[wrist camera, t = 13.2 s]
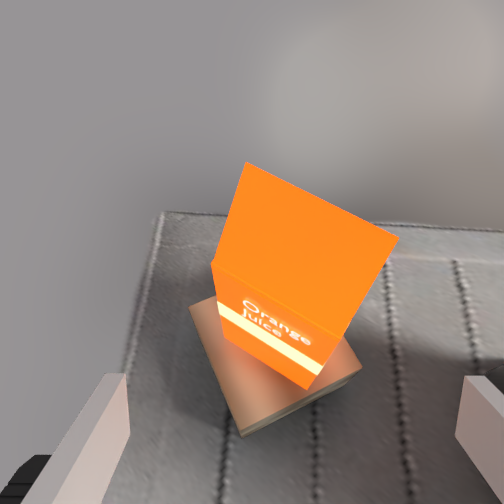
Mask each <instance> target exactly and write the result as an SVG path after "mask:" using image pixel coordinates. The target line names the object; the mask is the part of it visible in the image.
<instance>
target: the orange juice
mask: <svg viewBox="0 0 504 504" xmlns="http://www.w3.org/2000/svg"><path fill="white" fill-rule="evenodd" d="M398 239H399V237H397V236H394V235H392V234H390V233H388V232H386V231H384V230H382V229H380V228H378V227H376V226H374V225H372V224H370V223H368V222H366V221H364V220H362V219H360V218H358V217H356V216H354V215H352V214H350V213H348V212H346V211H344V210H342V209H340V208H338V207H336V206H334V205H332V204H330V203H328V202H326V201H324V200H322V199H320V198H318V197H316V196H314V195H311V194H310V193H308V192H306V191H304V190H302V189H300V188H297V187H295V186H293V185H291V184H289V183H287V182H285V181H283V180H281V179H279V178H277V177H275V176H273V175H271V174H269V173H267V172H265V171H263V170H261V169H259V168H257V167H255V166H253V165H251V164H249V163H247V162H246V163H245V166H244V169H243V172H242V175H241V178H240V181H239V184H238V187H237V190H236V193H235V197H234V200H233V203H232V206H231V209H230V212H229V215H228V218H227V221H226V224H225V227H224V230H223V233H222V236H221V239H220V242H219V245H218V248H217V251H216V254H215V257H214V260H213V261H212V262H211V267H212V273H213V278H214V283H215V289H216V294H217V300H218V301H217V304H218V309H219V314H220V316H221V322H222V327H223V333H224V337H225V338H227V339H228V340H230V341H231V342H233V343H234V344H236V345H237V346H239V347H241V348H242V349H244V350H245V351H247V352H248V353H250V354H251V355H253V356H255V357H256V358H258V359H259V360H261V361H262V362H264V363H265V364H267V365H268V366H270V367H272V368H273V369H275V370H276V371H278V372H279V373H281V374H282V375H284V376H286V377H287V378H289V379H290V380H292V381H293V382H295V383H296V384H298V385H299V386H301V387H303V388H304V389H306V390H307V389H308V388H309V386H310V385H311V383H312V382H313V380H314V379H315V377H316V376H317V375H318V374H319V372H320V371H321V369H322V368H323V366H324V364H325V363H326V361H327V359H328V358H329V356H330V355H331V353H332V352H333V350H334V349H335V347H336V346H337V344H338V343H339V341H340V340H341V338H342V336H343V334H344V332H345V330H346V329H347V327H348V325H349V323H350V321H351V319H352V318H353V316H354V314H355V313H356V311H357V309H358V307H359V306H360V304H361V302H362V301H363V299H364V297H365V295H366V294H367V292H368V290H369V289H370V287H371V285H372V283H373V282H374V280H375V278H376V277H377V275H378V273H379V272H380V270H381V268H382V266H383V265H384V263H385V261H386V260H387V258H388V256H389V254H390V253H391V251H392V249H393V248H394V246H395V244H396V243H397V241H398Z"/></svg>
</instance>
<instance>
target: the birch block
mask: <svg viewBox="0 0 504 504" xmlns="http://www.w3.org/2000/svg"><path fill="white" fill-rule="evenodd" d="M217 301H218V300H217V295H215V296H213V297H210V298H208V299H205V300H203V301H201V302H198V303H196V304H194V305H191V306H189V307H188V308H189V311H190V314H191V316H192V319H193V322H194V325H195V327H196V330H197V333H198V335H199V338H200V340H201V343H202V345H203V347H204V350H205V352H206V354H207V357H208V359H209V362H210V364H211V366H212V369H213V371H214V374H215V376H216V378H217V381H218V383H219V386H220V388H221V390H222V393H223V395H224V398H225V400H226V402H227V405H228V407H229V409H230V412H231V414H232V417H233V419H234V421H235V424H236V426H237V429H238V431H239V433H240V436H241V438H244V437H246V436H248V435H250V434H252V433H254V432H256V431H257V430H259V429H261V428H263V427H265V426H267V425H269V424H271V423H273V422H275V421H277V420H279V419H281V418H282V417H284V416H286V415H288V414H290V413H292V412H294V411H296V410H298V409H300V408H302V407H304V406H306V405H308V404H309V403H311V402H313V401H315V400H317V399H319V398H321V397H323V396H325V395H327V394H329V393H331V392H333V391H335V390H336V389H338V388H340V387H342V386H344V385H345V384H346V383H347V382H348V381H349V380H350V379H351V378H353V377H354V376H355V375H356V374H357V373H358V372H359V371H360V370H361V369H362V368H363V367H362V365H361V364H360V362H359V360H358V359H357V357H356V355H355V354H354V352H353V350H352V349H351V347H350V345H349V344H348V342H347V340H346V339H345V337H344V335H343V336H342V338H341V340H340V341H339V343H338V344H337V346H336V347H335V349H334V350H333V352H332V353H331V355H330V356H329V358H328V359H327V361H326V363H325V364H324V366H323V368H322V369H321V371H320V372H319V374H318V375H317V376H316V377H315V379H314V380H313V382H312V383H311V385H310V386H309V388H308V389H307V390H306V389H304V388H303V387H301V386H299V385H298V384H296V383H295V382H293V381H292V380H290V379H289V378H287V377H286V376H284V375H282V374H281V373H279V372H278V371H276V370H275V369H273V368H272V367H270V366H268V365H267V364H265V363H264V362H262V361H261V360H259V359H258V358H256V357H255V356H253V355H251V354H250V353H248V352H247V351H245V350H244V349H242V348H241V347H239V346H237V345H236V344H234V343H233V342H231V341H230V340H228V339H227V338H225V337H224V333H223V327H222V322H221V316H220V314H219V309H218V304H217Z"/></svg>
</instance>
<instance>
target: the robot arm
mask: <svg viewBox="0 0 504 504" xmlns="http://www.w3.org/2000/svg"><path fill="white" fill-rule="evenodd" d="M129 436H130V423H129V411H128V400H127V388H126V376H125V373H105V375H104V376H103V378H102V379H101V381H100V382H99V384H98V385H97V387H96V388H95V390H94V392H93V393H92V395H91V396H90V398H89V399H88V401H87V402H86V404H85V405H84V407H83V408H82V410H81V412H80V413H79V415H78V416H77V418H76V419H75V421H74V423H73V424H72V425H71V427H70V429H69V430H68V432H67V433H66V435H65V436H64V438H63V439H62V441H61V442H60V444H59V445H58V447H57V449H56V450H55V452H54V453H53V455H34V456H33V457H32V458H31V459H29V460H28V461H27V462H26V463H24V464H23V465H22V466H21V467H19V469H18V470H17V471H16V473H15V474H14V476H13V477H12V478H11V480H10V481H9V482H8V485H7V486H6V487H5V488H4V489H3V491H2V492H1V493H0V504H101V502H102V499H103V497H104V495H105V492H106V490H107V488H108V485H109V483H110V480H111V478H112V476H113V473H114V471H115V469H116V466H117V464H118V462H119V459H120V457H121V455H122V452H123V450H124V448H125V445H126V443H127V441H128V438H129ZM455 437H456V439H457V440H458V441H459V443H460V444H461V446H462V447H463V449H464V450H465V451H466V453H467V454H468V456H469V457H470V459H471V460H472V461H473V463H474V464H475V466H476V467H477V469H478V470H479V471H480V473H481V475H482V476H483V478H484V479H485V481H486V482H487V484H488V485H489V486H490V487H491V489H492V490H493V491H494V493H495V494H496V496H497V497H498V498H499V500H500V501H501V503H502V504H504V365H502V366H499V367H497V368H495V369H493V370H491V371H489V372H487V373H486V374H484V375H483V376H464V383H463V389H462V395H461V401H460V407H459V413H458V419H457V425H456V431H455Z"/></svg>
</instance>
